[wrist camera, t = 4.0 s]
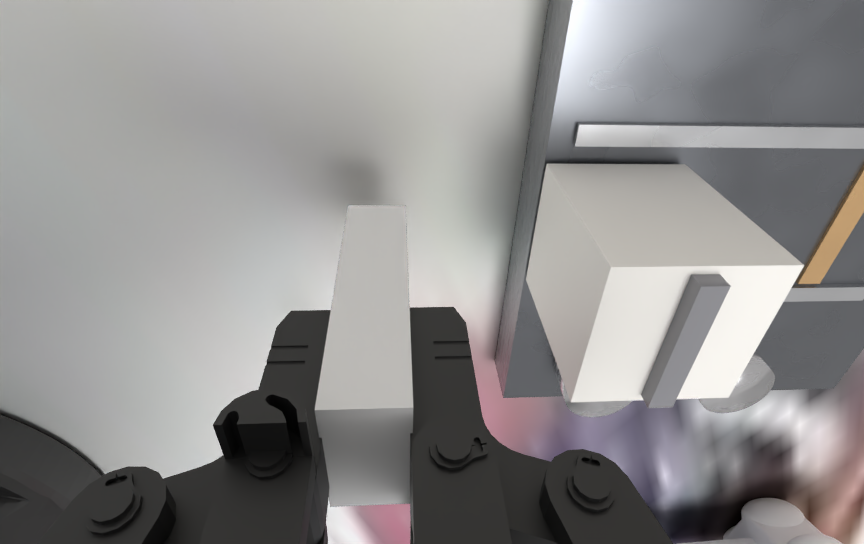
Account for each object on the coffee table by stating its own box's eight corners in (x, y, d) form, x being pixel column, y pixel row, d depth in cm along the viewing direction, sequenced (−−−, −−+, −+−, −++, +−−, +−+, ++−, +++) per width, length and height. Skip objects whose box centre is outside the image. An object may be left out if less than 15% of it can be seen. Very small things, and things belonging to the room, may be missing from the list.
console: (494, 361, 21) (510, 431, 18) (565, -106, 12) (620, -113, 9) (801, 354, 22) (863, 419, 19) (1086, -83, 13) (1286, -83, 10)
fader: (526, 279, 16) (575, 415, 12) (546, 163, 14) (618, 279, 9) (644, 278, 16) (737, 410, 12) (685, 164, 14) (818, 277, 10)
